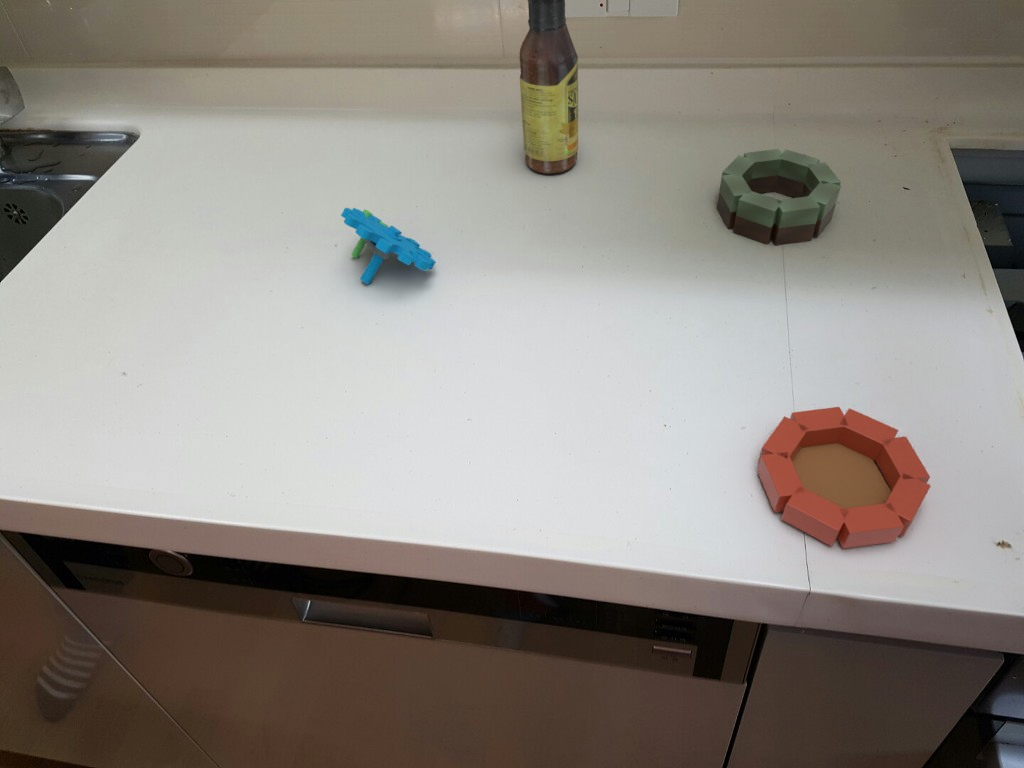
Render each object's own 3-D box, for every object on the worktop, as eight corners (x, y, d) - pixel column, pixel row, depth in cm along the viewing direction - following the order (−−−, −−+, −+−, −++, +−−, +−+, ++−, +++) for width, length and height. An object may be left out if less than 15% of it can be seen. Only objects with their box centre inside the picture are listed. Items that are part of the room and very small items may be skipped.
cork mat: (860, 441, 61) (861, 438, 61) (902, 515, 56) (904, 513, 56) (772, 454, 61) (773, 451, 61) (808, 530, 56) (809, 528, 56)
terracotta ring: (877, 417, 62) (884, 400, 61) (945, 535, 55) (956, 519, 53) (741, 434, 62) (745, 418, 60) (791, 555, 54) (797, 540, 53)
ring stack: (803, 177, 86) (811, 144, 83) (846, 236, 79) (856, 202, 76) (706, 189, 86) (710, 157, 83) (739, 250, 78) (746, 216, 75)
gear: (454, 270, 76) (368, 229, 69) (422, 321, 77) (335, 285, 71) (412, 226, 84) (332, 185, 77) (385, 273, 85) (303, 237, 79)
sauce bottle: (581, 174, 89) (583, -9, 75) (526, 179, 89) (517, -4, 75) (574, 144, 94) (574, -34, 79) (522, 149, 94) (512, -29, 79)
